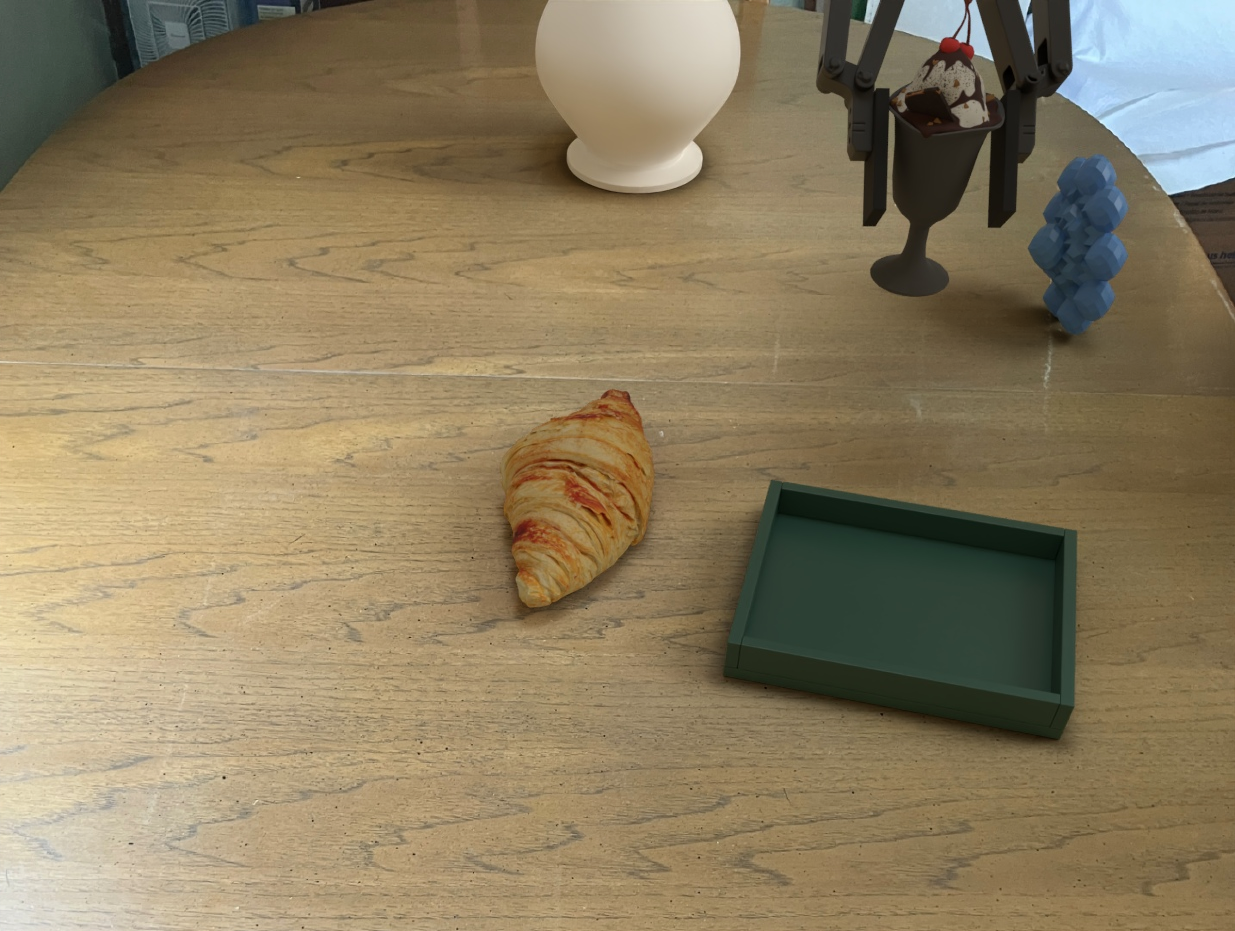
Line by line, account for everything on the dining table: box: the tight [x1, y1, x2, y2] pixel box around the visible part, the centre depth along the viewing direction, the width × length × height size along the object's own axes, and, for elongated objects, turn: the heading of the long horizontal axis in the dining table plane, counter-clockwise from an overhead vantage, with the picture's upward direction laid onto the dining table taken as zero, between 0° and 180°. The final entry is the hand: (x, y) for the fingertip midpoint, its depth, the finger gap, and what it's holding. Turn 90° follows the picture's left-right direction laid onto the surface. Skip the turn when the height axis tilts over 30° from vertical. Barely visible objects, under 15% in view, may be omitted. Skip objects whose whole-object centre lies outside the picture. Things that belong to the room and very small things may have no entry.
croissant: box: [499, 388, 656, 608], centre depth 80 cm, size 21×10×8 cm, turn 166°
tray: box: [722, 479, 1078, 740], centre depth 75 cm, size 20×16×3 cm
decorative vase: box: [534, 0, 741, 194], centre depth 104 cm, size 18×18×25 cm
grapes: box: [1027, 153, 1130, 336], centre depth 94 cm, size 12×7×12 cm, turn 7°
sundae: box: [869, 0, 1005, 298], centre depth 71 cm, size 7×7×15 cm
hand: (938, 218), depth 71 cm, fingers closed on sundae, 7 cm apart
